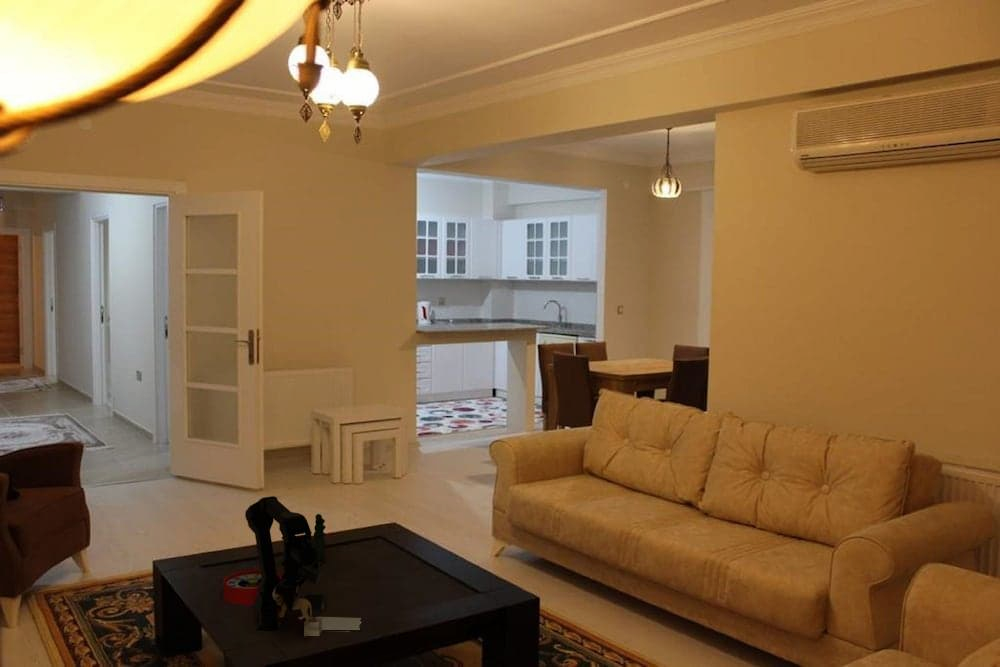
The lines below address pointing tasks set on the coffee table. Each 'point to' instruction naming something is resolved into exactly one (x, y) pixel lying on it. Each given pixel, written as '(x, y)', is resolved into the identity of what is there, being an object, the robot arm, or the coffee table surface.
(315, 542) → the toy figurine
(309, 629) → the maple cube
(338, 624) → the grey mat
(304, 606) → the lion figurine
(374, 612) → the coffee table surface
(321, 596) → the phone
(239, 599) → the toy clock
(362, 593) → the coffee table surface
